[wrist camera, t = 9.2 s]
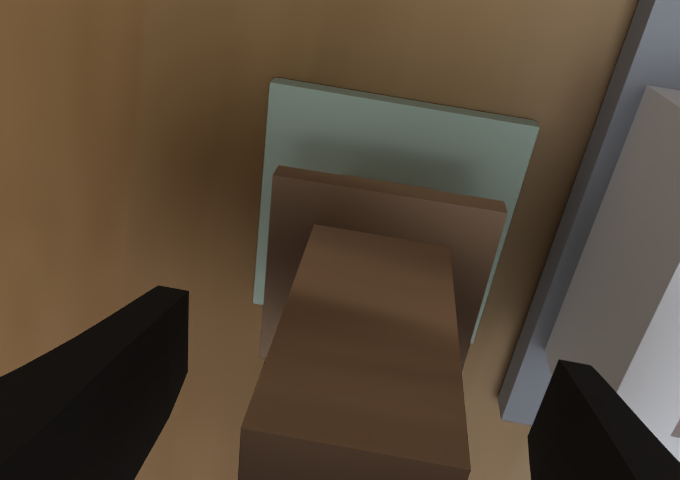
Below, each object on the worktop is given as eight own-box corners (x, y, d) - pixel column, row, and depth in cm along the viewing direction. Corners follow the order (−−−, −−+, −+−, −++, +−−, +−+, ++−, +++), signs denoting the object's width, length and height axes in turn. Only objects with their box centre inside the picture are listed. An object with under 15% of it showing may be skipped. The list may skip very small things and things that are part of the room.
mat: (471, 331, 19) (473, 343, 18) (257, 292, 19) (253, 302, 19) (535, 120, 15) (540, 127, 15) (275, 77, 16) (269, 82, 15)
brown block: (449, 309, 18) (476, 652, 9) (287, 282, 18) (171, 592, 10) (489, 154, 15) (573, 427, 7) (302, 125, 16) (164, 354, 7)
